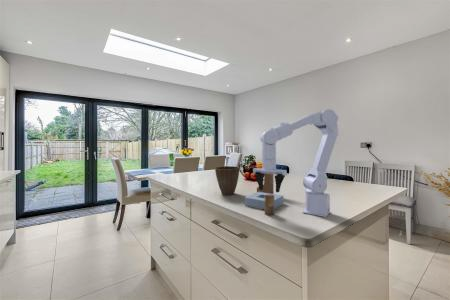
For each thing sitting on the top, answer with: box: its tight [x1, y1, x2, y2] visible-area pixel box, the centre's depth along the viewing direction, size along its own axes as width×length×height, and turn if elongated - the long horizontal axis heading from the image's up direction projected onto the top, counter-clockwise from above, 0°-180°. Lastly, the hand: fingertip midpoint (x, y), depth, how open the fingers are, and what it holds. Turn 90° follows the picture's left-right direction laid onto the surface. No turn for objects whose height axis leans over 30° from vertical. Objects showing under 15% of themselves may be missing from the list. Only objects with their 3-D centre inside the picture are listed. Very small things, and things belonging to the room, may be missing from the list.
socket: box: [244, 191, 284, 211], centre depth 101 cm, size 14×14×4 cm
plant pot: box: [214, 166, 240, 196], centre depth 124 cm, size 15×15×16 cm
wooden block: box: [256, 172, 275, 194], centre depth 119 cm, size 9×4×18 cm, turn 66°
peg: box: [264, 194, 275, 216], centre depth 88 cm, size 4×4×8 cm
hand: (269, 190), depth 87 cm, fingers open, 7 cm apart
